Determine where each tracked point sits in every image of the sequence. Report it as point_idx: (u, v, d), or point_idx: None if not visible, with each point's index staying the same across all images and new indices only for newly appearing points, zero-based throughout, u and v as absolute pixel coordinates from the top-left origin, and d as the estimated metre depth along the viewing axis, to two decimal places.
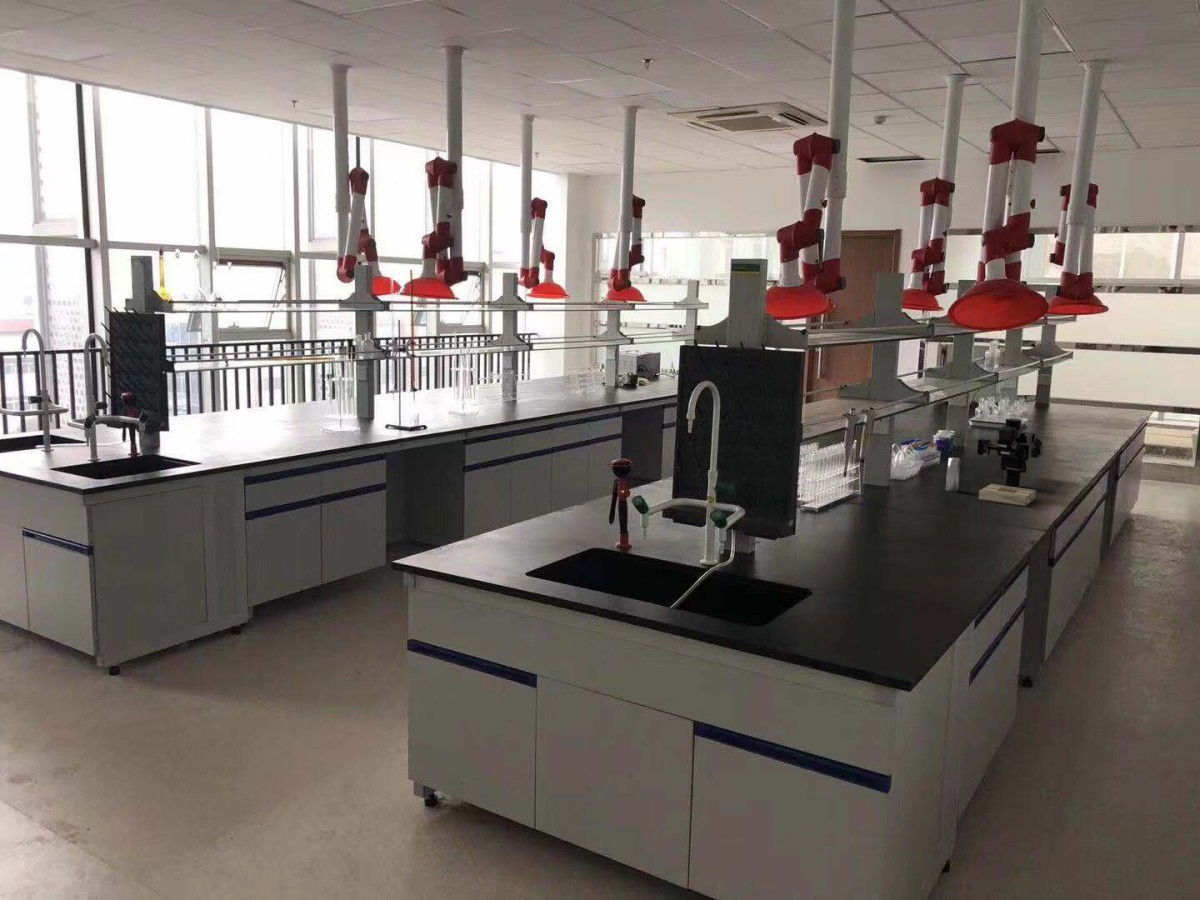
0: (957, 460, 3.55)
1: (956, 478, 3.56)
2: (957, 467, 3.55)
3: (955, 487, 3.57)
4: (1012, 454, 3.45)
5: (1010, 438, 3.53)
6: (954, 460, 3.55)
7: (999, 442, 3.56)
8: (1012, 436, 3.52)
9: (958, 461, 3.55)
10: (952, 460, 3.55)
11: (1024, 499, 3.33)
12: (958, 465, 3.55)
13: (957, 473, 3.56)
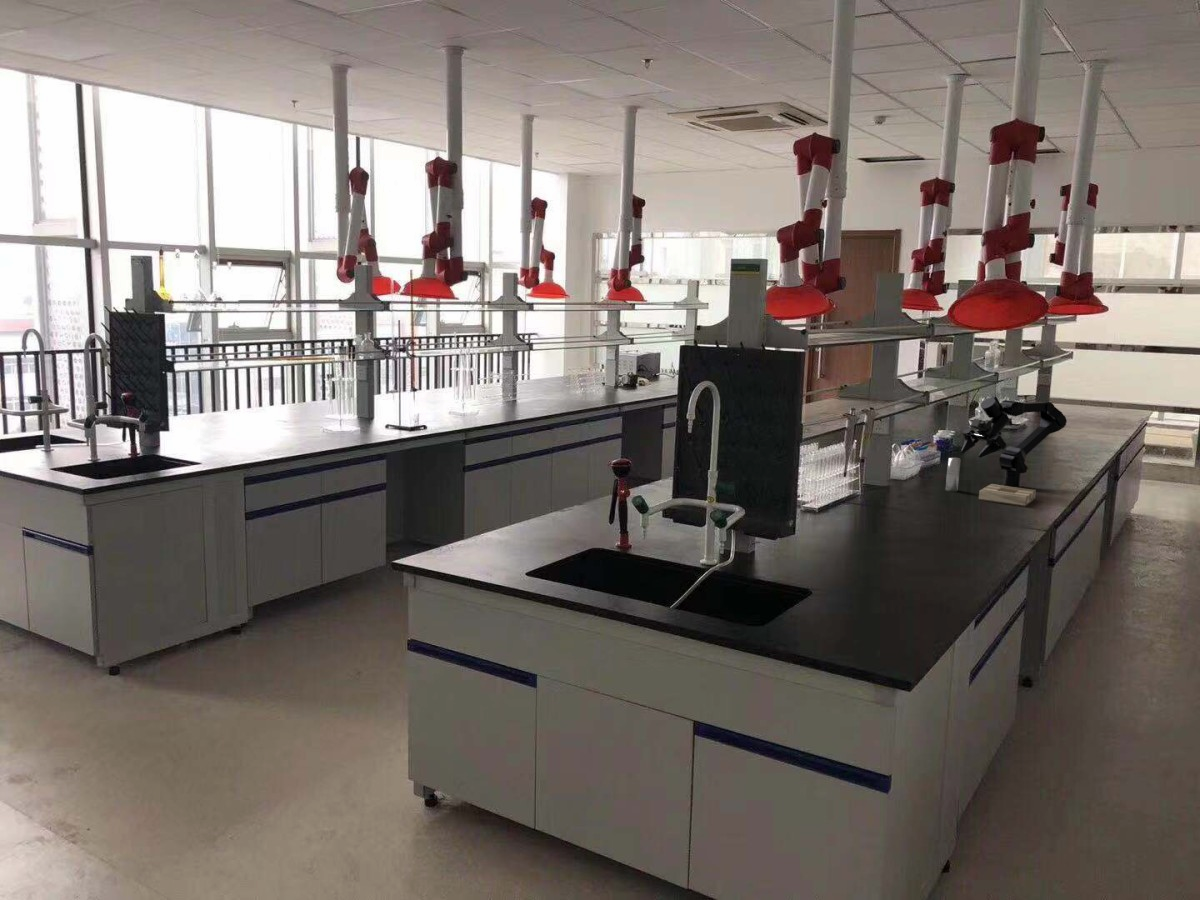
0: (957, 460, 3.55)
1: (956, 478, 3.56)
2: (957, 467, 3.55)
3: (955, 487, 3.57)
4: (982, 454, 3.54)
5: (983, 430, 3.57)
6: (954, 460, 3.55)
7: (978, 432, 3.61)
8: (984, 428, 3.56)
9: (958, 461, 3.55)
10: (952, 460, 3.55)
11: (1024, 499, 3.33)
12: (958, 465, 3.55)
13: (957, 473, 3.56)
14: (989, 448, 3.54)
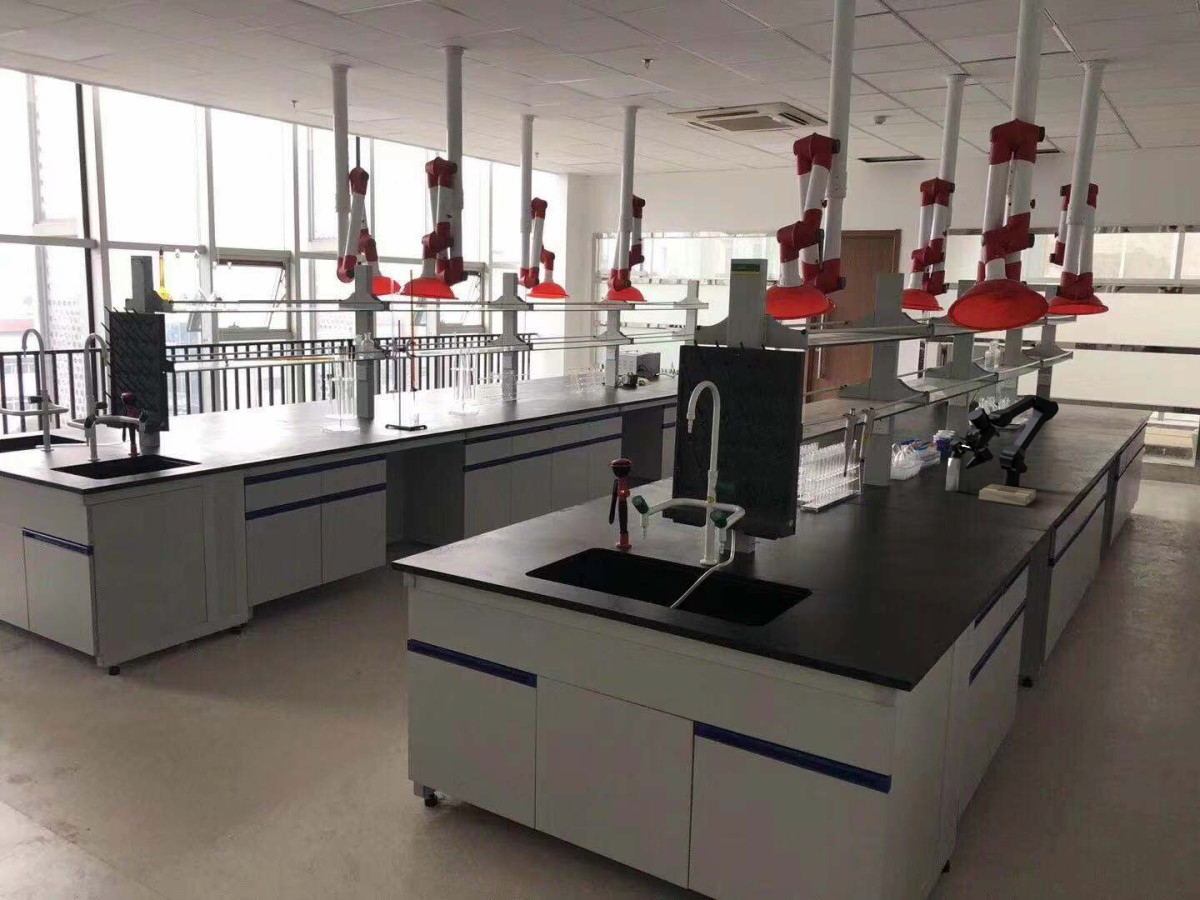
0: (957, 460, 3.55)
1: (956, 478, 3.56)
2: (957, 467, 3.55)
3: (955, 487, 3.57)
4: (969, 466, 3.53)
5: (971, 441, 3.56)
6: (954, 460, 3.55)
7: (966, 443, 3.60)
8: (971, 440, 3.55)
9: (958, 461, 3.55)
10: (952, 460, 3.55)
11: (1024, 499, 3.33)
12: (958, 465, 3.55)
13: (957, 473, 3.56)
14: (976, 460, 3.53)
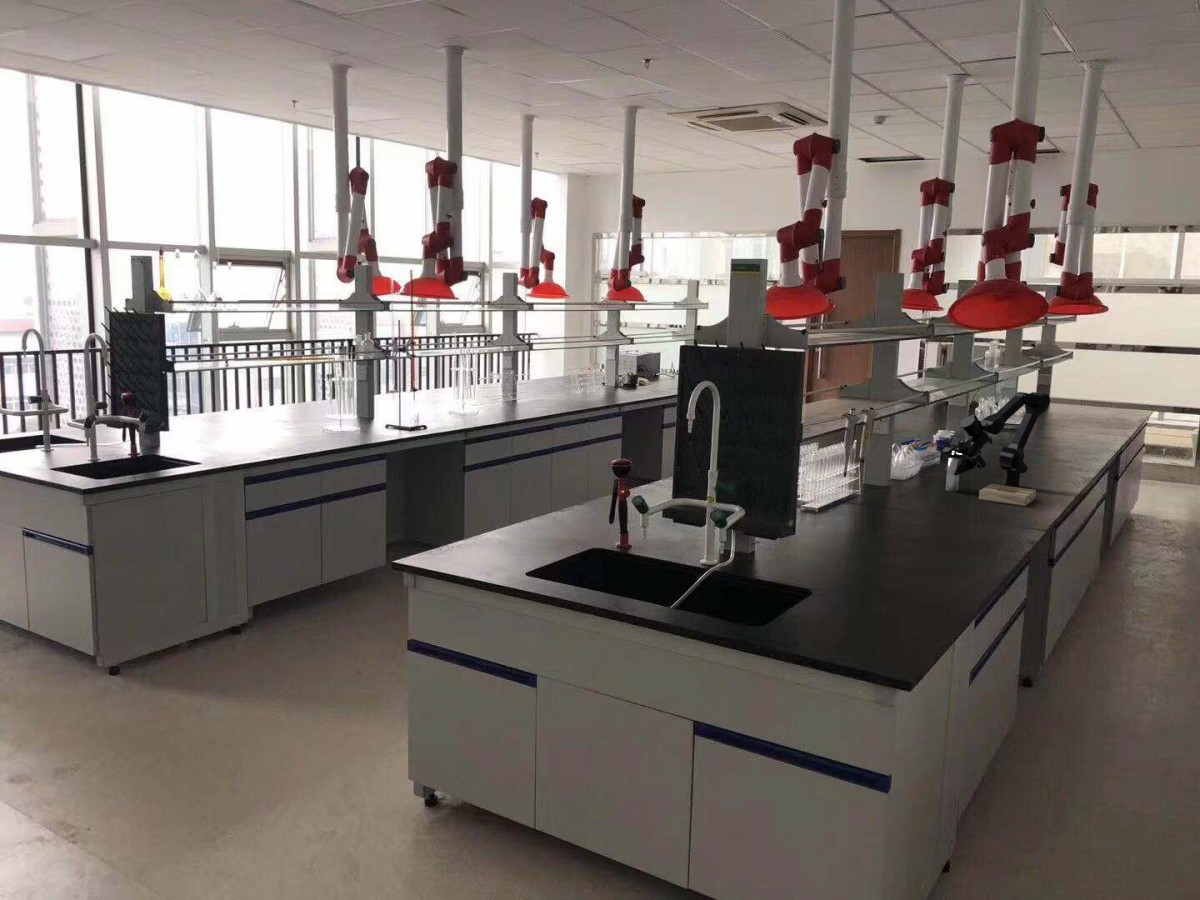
0: (957, 460, 3.55)
1: (956, 478, 3.56)
2: (957, 467, 3.55)
3: (955, 487, 3.57)
4: (957, 472, 3.55)
5: (963, 448, 3.55)
6: (954, 460, 3.55)
7: None
8: (963, 447, 3.54)
9: (958, 461, 3.55)
10: (952, 460, 3.55)
11: (1024, 499, 3.33)
12: (958, 465, 3.55)
13: None
14: (964, 466, 3.55)
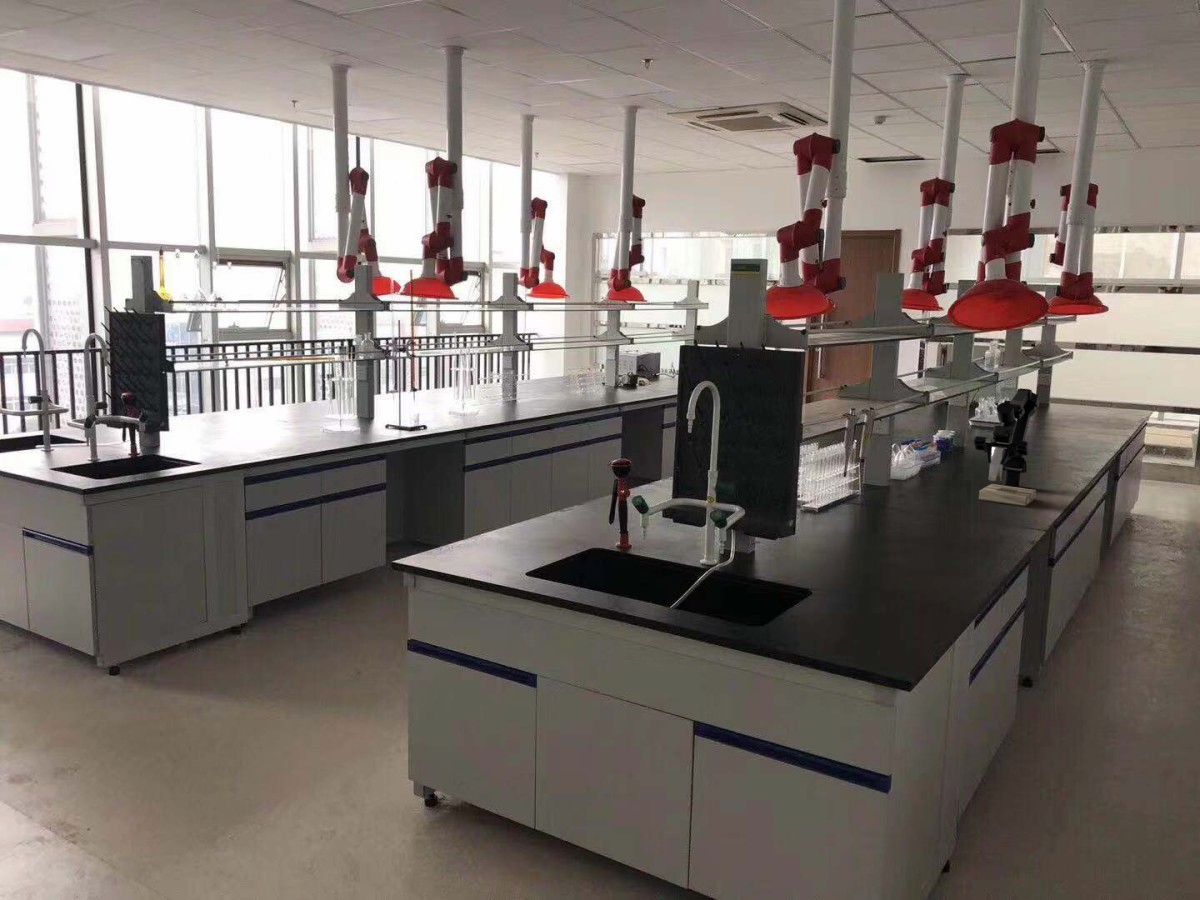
0: (1003, 449, 3.42)
1: None
2: (1003, 456, 3.42)
3: None
4: (1004, 461, 3.42)
5: (1005, 436, 3.43)
6: (1001, 449, 3.41)
7: (995, 439, 3.47)
8: (1007, 435, 3.42)
9: (1003, 450, 3.42)
10: (999, 449, 3.41)
11: (1024, 499, 3.33)
12: (1003, 454, 3.43)
13: None
14: (1009, 454, 3.43)
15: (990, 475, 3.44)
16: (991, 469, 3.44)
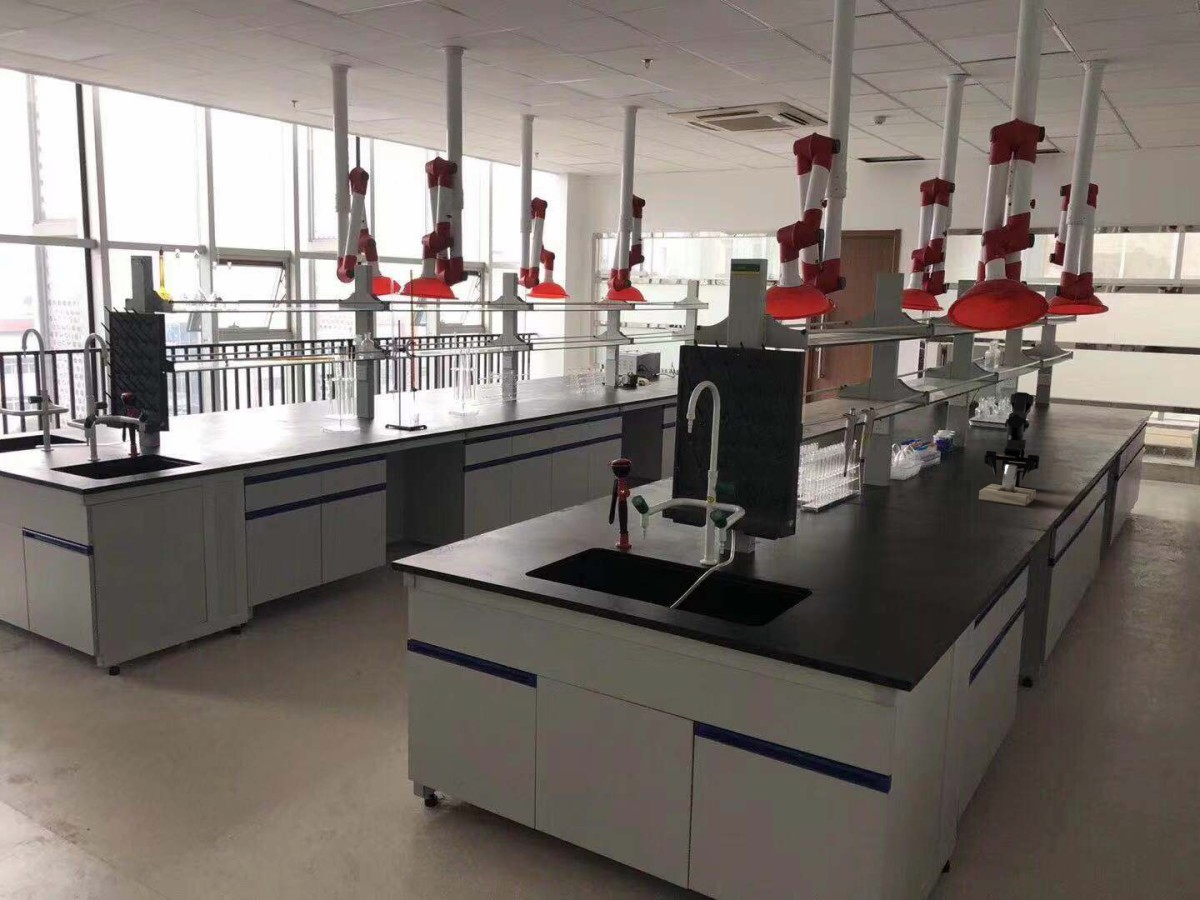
0: (1017, 466, 3.41)
1: None
2: (1016, 474, 3.42)
3: None
4: (1024, 476, 3.40)
5: (1017, 450, 3.43)
6: (1015, 467, 3.40)
7: (1006, 453, 3.46)
8: (1019, 449, 3.42)
9: None
10: (1014, 467, 3.40)
11: (1024, 499, 3.33)
12: None
13: (1015, 480, 3.42)
14: None
15: None
16: (1004, 487, 3.42)
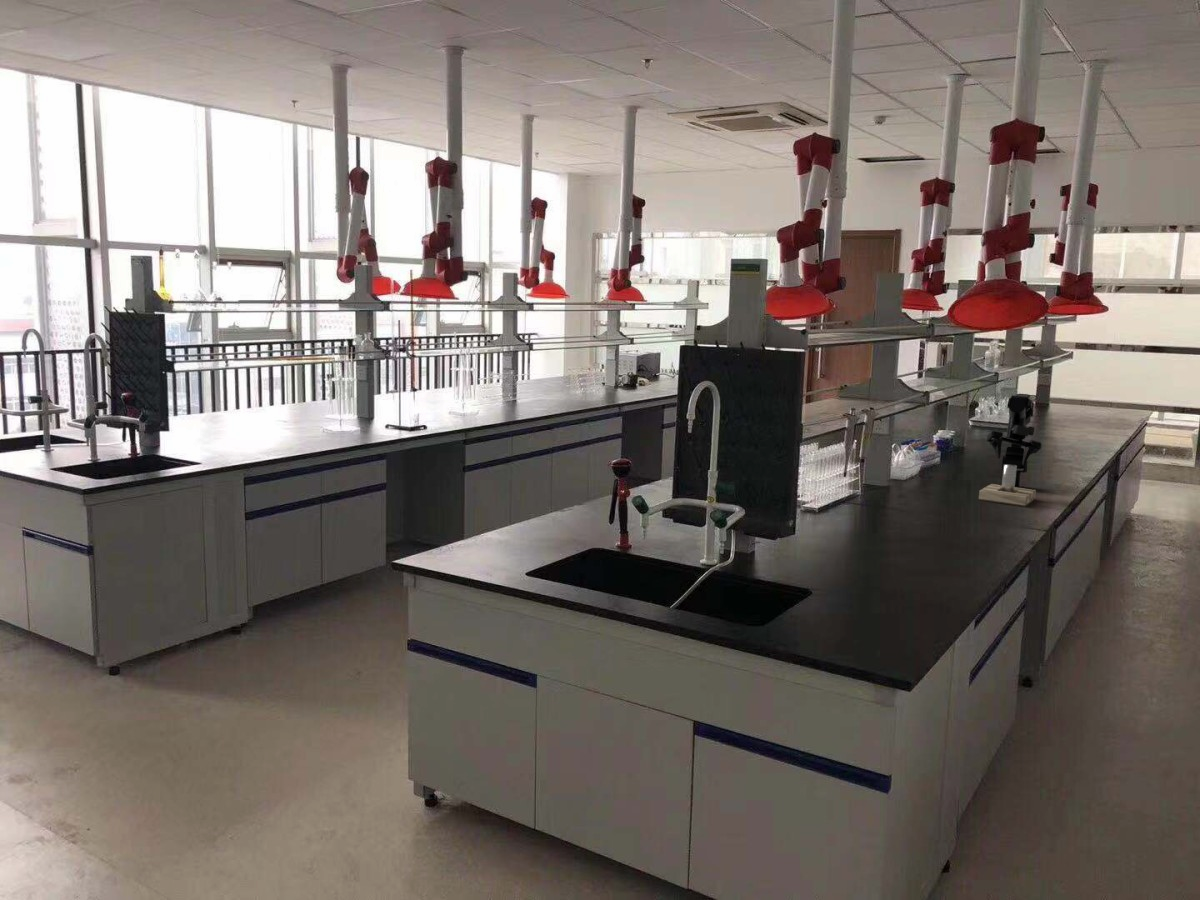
0: (1016, 467, 3.41)
1: (1014, 485, 3.42)
2: (1015, 474, 3.42)
3: None
4: None
5: (1023, 435, 3.48)
6: (1014, 467, 3.40)
7: (1011, 435, 3.51)
8: None
9: None
10: (1013, 467, 3.40)
11: (1024, 499, 3.33)
12: None
13: None
14: None
15: None
16: (1004, 487, 3.42)
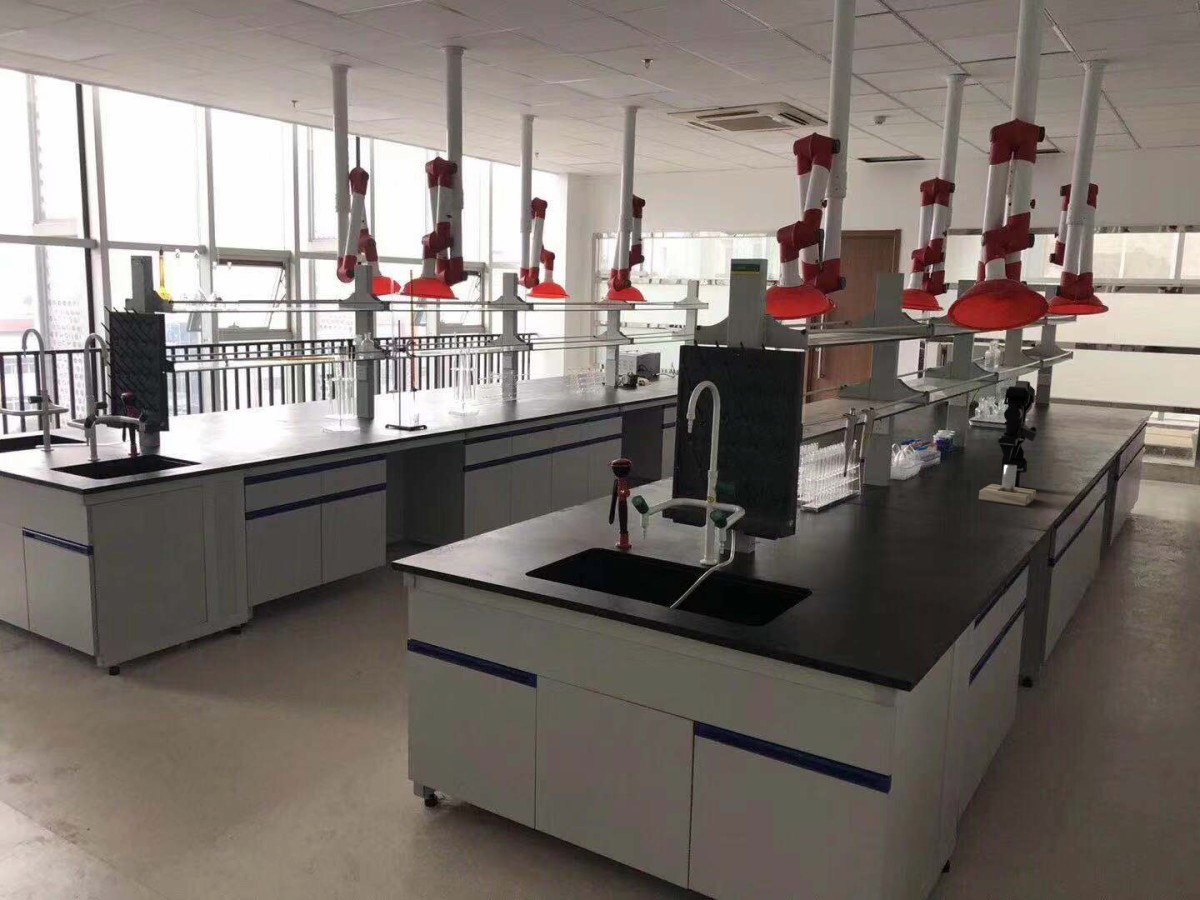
0: (1016, 467, 3.41)
1: (1014, 485, 3.42)
2: (1015, 474, 3.42)
3: None
4: None
5: None
6: (1014, 467, 3.40)
7: None
8: None
9: None
10: (1013, 467, 3.40)
11: (1024, 499, 3.33)
12: None
13: None
14: None
15: None
16: (1004, 487, 3.42)
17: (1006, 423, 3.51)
